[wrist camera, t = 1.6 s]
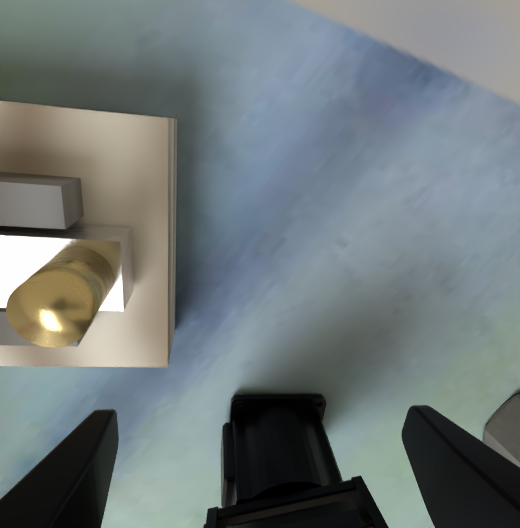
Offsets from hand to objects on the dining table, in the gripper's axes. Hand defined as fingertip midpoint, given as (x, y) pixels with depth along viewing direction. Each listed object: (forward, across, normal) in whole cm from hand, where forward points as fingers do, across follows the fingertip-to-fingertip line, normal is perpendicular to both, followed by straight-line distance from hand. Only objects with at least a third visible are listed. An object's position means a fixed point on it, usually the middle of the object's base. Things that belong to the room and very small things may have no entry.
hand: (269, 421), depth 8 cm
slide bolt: (+9, +9, 0) cm, 13 cm away
